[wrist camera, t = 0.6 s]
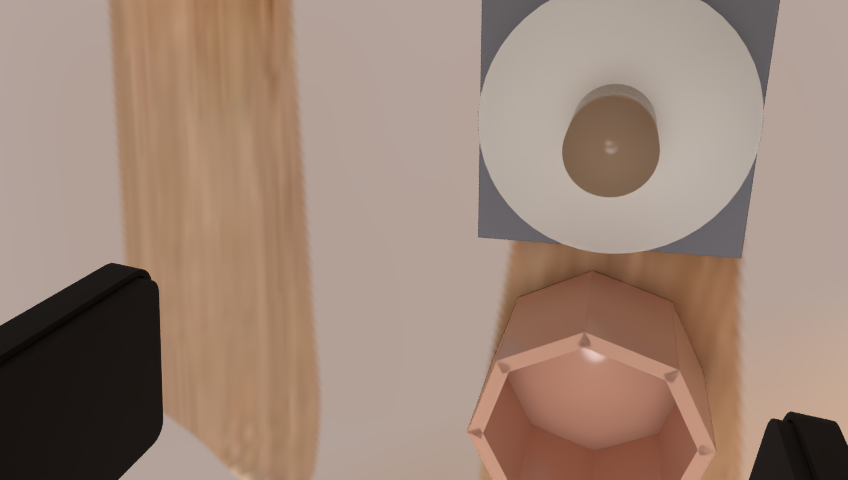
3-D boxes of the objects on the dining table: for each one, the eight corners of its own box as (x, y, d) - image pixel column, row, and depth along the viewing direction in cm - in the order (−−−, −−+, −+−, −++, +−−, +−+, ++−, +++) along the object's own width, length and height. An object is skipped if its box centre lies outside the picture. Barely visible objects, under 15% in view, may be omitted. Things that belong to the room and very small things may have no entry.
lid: (697, -77, 27) (711, -85, 22) (800, 187, 29) (834, 234, 24) (439, 56, 31) (401, 75, 26) (546, 279, 33) (531, 336, 28)
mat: (484, -24, 30) (482, -24, 29) (781, -26, 27) (783, -26, 27) (480, 233, 34) (478, 237, 33) (739, 254, 31) (741, 258, 31)
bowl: (649, 249, 32) (652, 309, 27) (724, 418, 34) (741, 506, 28) (468, 314, 35) (438, 379, 30) (546, 465, 37) (530, 552, 32)
